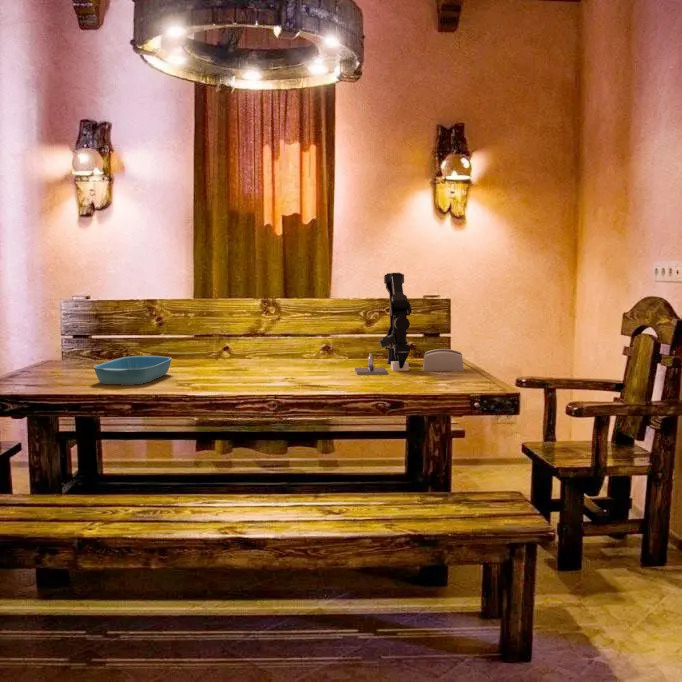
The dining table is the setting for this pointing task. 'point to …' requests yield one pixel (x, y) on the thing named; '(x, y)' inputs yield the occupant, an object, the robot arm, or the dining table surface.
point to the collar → (396, 367)
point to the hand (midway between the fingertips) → (399, 366)
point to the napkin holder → (443, 360)
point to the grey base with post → (370, 368)
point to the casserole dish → (132, 370)
